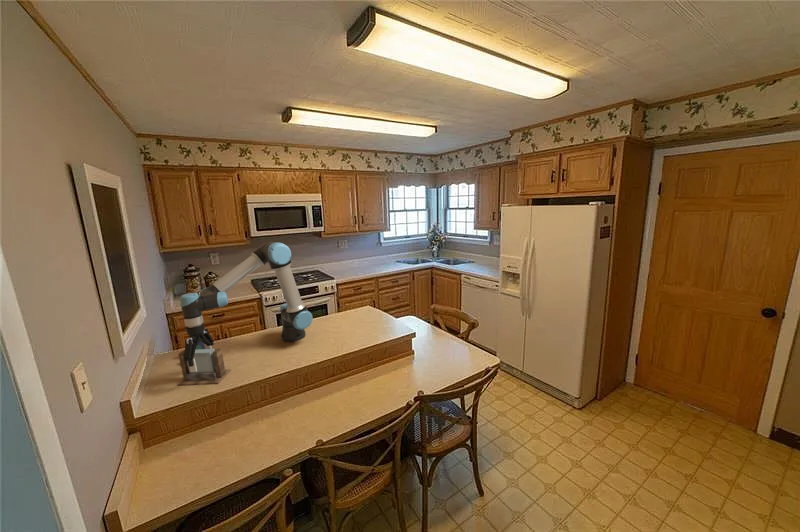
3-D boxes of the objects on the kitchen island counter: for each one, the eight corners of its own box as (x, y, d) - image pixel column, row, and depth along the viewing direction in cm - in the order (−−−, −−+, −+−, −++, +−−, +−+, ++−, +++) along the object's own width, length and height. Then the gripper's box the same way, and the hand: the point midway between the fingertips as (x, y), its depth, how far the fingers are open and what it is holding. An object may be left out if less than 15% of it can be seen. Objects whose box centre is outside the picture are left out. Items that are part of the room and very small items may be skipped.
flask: (205, 352, 185) (202, 335, 183) (207, 353, 183) (204, 337, 181) (188, 358, 178) (184, 341, 176) (189, 359, 176) (185, 342, 174)
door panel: (219, 373, 158) (214, 348, 155) (214, 378, 154) (209, 352, 151) (196, 374, 158) (190, 349, 155) (190, 379, 154) (185, 353, 151)
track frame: (231, 370, 162) (226, 344, 159) (218, 383, 150) (212, 356, 147) (193, 372, 162) (188, 346, 159) (177, 385, 150) (171, 358, 147)
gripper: (202, 315, 162) (210, 352, 167) (168, 335, 138) (177, 378, 143) (216, 315, 162) (223, 352, 167) (184, 335, 138) (193, 377, 142)
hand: (202, 364), depth 155 cm, fingers open, 13 cm apart
